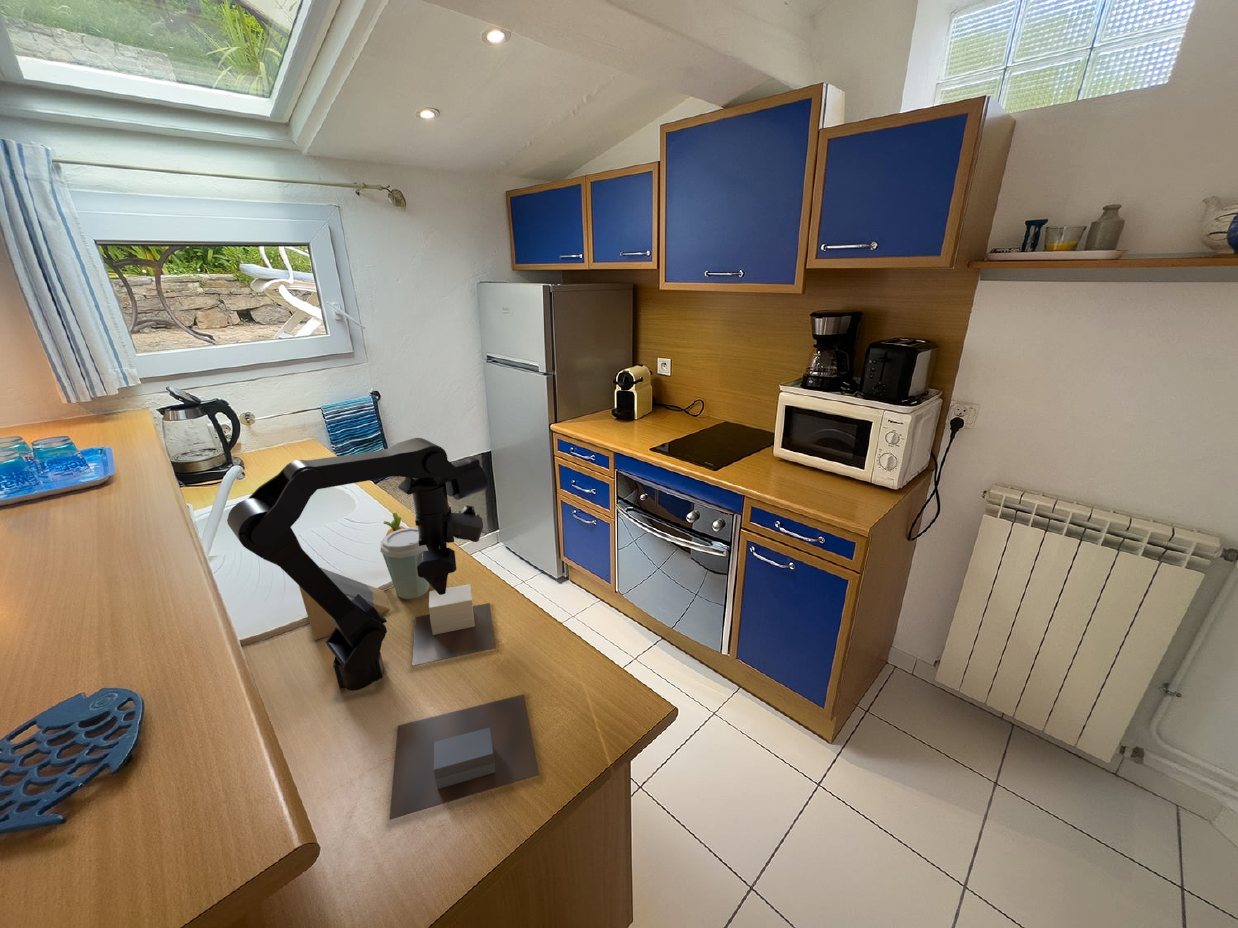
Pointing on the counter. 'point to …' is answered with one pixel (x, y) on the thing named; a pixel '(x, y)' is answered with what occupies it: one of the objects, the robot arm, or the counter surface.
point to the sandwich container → (351, 588)
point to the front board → (417, 738)
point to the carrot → (394, 524)
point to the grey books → (463, 758)
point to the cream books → (452, 621)
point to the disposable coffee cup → (404, 562)
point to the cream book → (450, 600)
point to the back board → (453, 638)
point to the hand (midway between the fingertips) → (442, 579)
